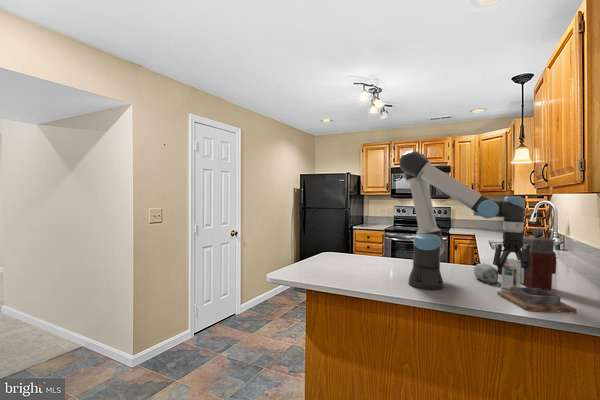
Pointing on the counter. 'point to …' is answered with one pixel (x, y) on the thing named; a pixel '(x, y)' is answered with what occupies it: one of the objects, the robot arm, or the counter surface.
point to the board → (536, 300)
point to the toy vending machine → (539, 261)
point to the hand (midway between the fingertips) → (510, 282)
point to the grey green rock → (486, 273)
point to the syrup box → (511, 274)
